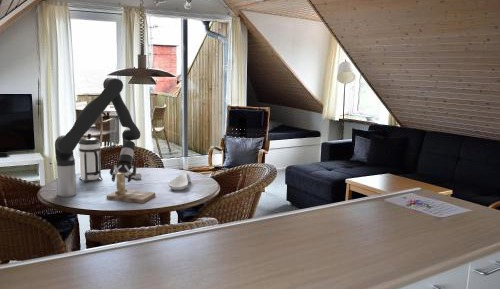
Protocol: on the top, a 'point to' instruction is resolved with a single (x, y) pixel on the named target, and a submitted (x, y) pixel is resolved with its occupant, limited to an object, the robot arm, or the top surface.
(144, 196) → the board
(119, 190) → the tan wooden column
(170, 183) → the spoon rest
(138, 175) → the tube
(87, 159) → the coffee press
